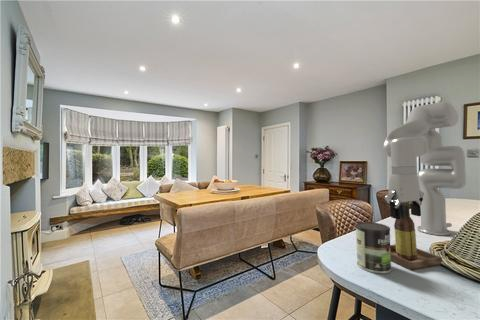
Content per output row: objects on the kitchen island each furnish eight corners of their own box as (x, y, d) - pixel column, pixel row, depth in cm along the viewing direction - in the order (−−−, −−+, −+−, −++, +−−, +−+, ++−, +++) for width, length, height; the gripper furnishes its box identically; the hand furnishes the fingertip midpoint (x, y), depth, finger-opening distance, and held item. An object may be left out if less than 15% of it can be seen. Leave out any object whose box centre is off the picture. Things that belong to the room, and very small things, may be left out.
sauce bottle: (409, 253, 84) (407, 201, 84) (421, 260, 77) (419, 205, 78) (391, 253, 84) (389, 202, 84) (401, 260, 78) (399, 205, 78)
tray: (403, 249, 89) (403, 243, 89) (442, 264, 76) (442, 257, 76) (375, 253, 86) (375, 247, 86) (410, 270, 72) (410, 263, 72)
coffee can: (397, 268, 74) (396, 227, 74) (380, 277, 69) (378, 232, 69) (368, 257, 83) (366, 220, 83) (350, 263, 78) (349, 224, 78)
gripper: (411, 169, 87) (413, 212, 87) (376, 172, 83) (378, 216, 83) (432, 170, 79) (434, 216, 80) (394, 173, 75) (396, 222, 75)
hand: (405, 216), depth 81 cm, fingers open, 9 cm apart
